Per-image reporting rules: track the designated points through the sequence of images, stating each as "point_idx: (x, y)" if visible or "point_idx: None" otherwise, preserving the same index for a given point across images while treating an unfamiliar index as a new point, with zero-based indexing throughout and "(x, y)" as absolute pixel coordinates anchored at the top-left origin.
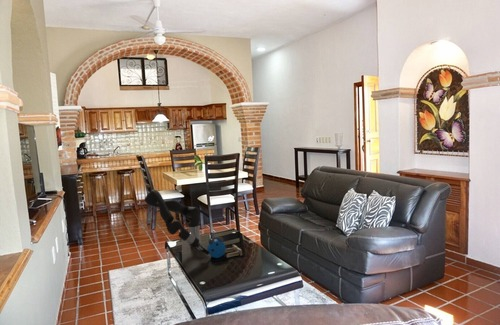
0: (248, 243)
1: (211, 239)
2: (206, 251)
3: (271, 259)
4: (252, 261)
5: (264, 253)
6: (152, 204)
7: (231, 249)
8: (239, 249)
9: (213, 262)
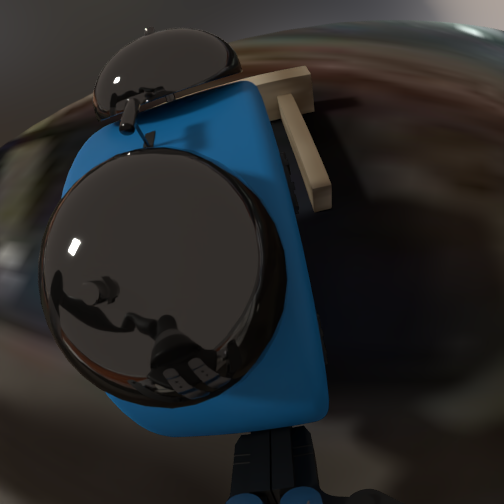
0: None
1: (165, 225)
2: (315, 473)
3: (420, 29)
4: (449, 79)
5: (323, 31)
6: None
7: None
8: (280, 76)
9: (432, 369)
